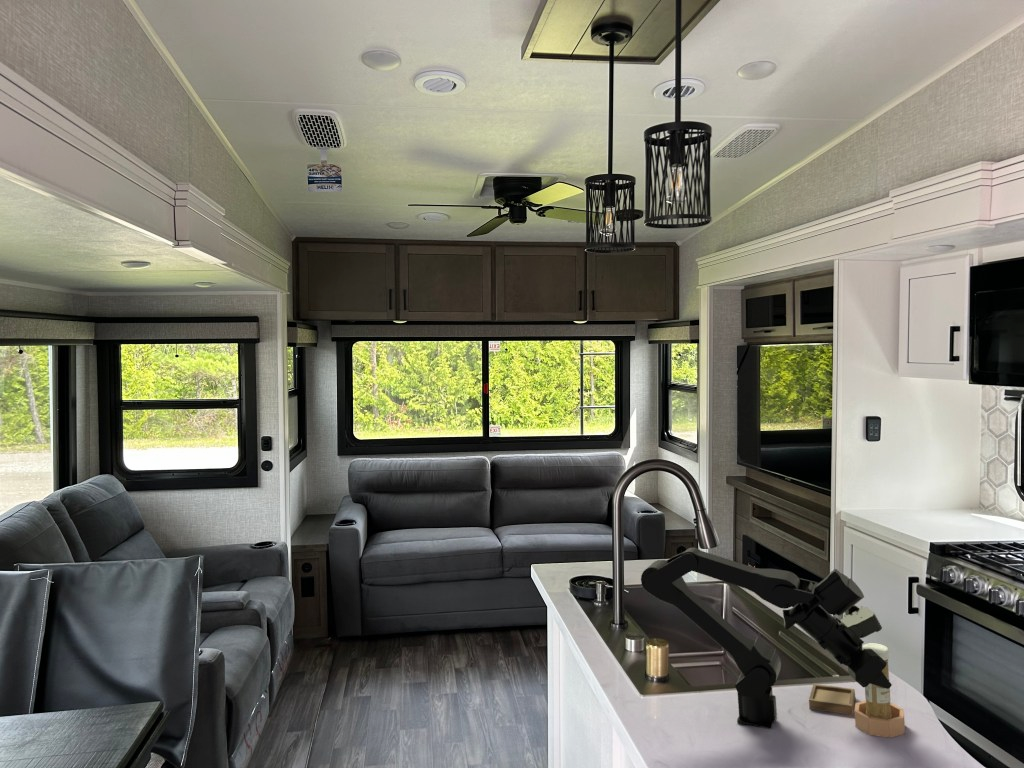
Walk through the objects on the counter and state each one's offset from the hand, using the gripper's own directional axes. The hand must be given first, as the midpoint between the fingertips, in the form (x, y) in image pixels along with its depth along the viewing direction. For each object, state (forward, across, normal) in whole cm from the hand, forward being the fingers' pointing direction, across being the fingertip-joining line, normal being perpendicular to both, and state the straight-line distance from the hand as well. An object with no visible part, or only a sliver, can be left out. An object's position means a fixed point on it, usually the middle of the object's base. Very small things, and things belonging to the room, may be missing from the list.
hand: (884, 681), depth 143 cm
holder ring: (+5, 0, +7) cm, 9 cm away
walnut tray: (+2, +10, +11) cm, 15 cm away
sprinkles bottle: (+4, 0, +6) cm, 7 cm away
